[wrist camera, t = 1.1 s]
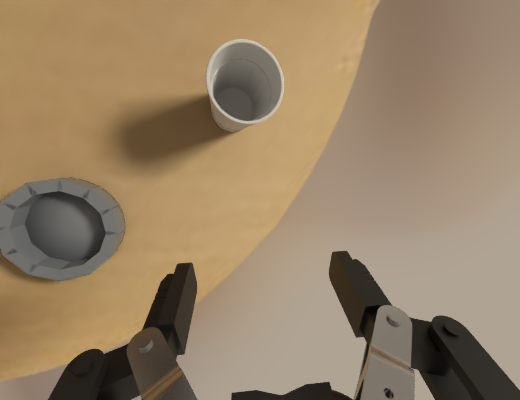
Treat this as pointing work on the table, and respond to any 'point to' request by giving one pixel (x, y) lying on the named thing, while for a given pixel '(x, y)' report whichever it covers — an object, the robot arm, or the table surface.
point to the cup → (243, 84)
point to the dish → (60, 228)
